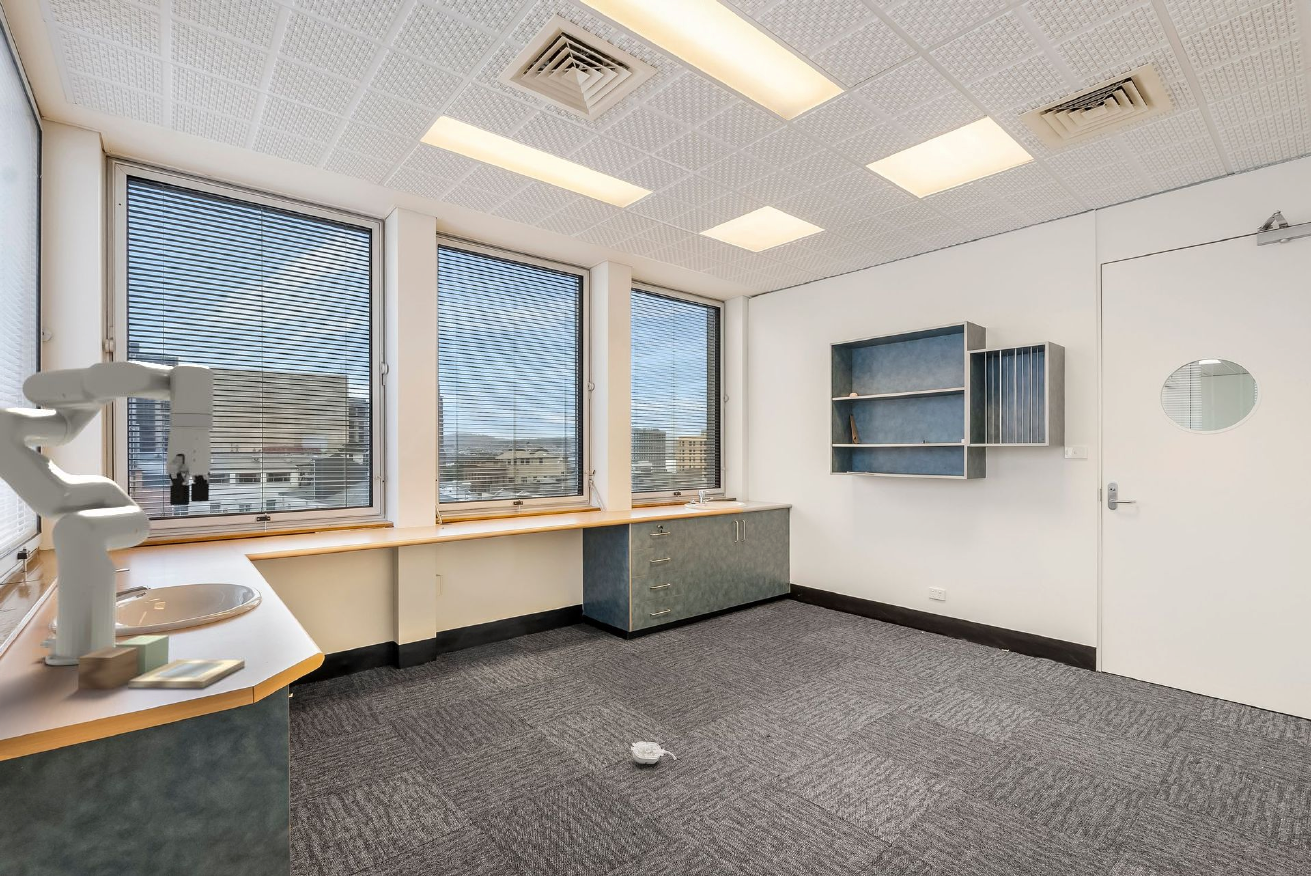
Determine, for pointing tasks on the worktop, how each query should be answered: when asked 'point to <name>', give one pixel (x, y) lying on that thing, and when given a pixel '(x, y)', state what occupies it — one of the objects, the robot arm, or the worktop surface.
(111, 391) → the robot arm
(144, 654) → the sage cube
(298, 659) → the worktop surface
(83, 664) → the walnut cube
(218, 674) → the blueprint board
